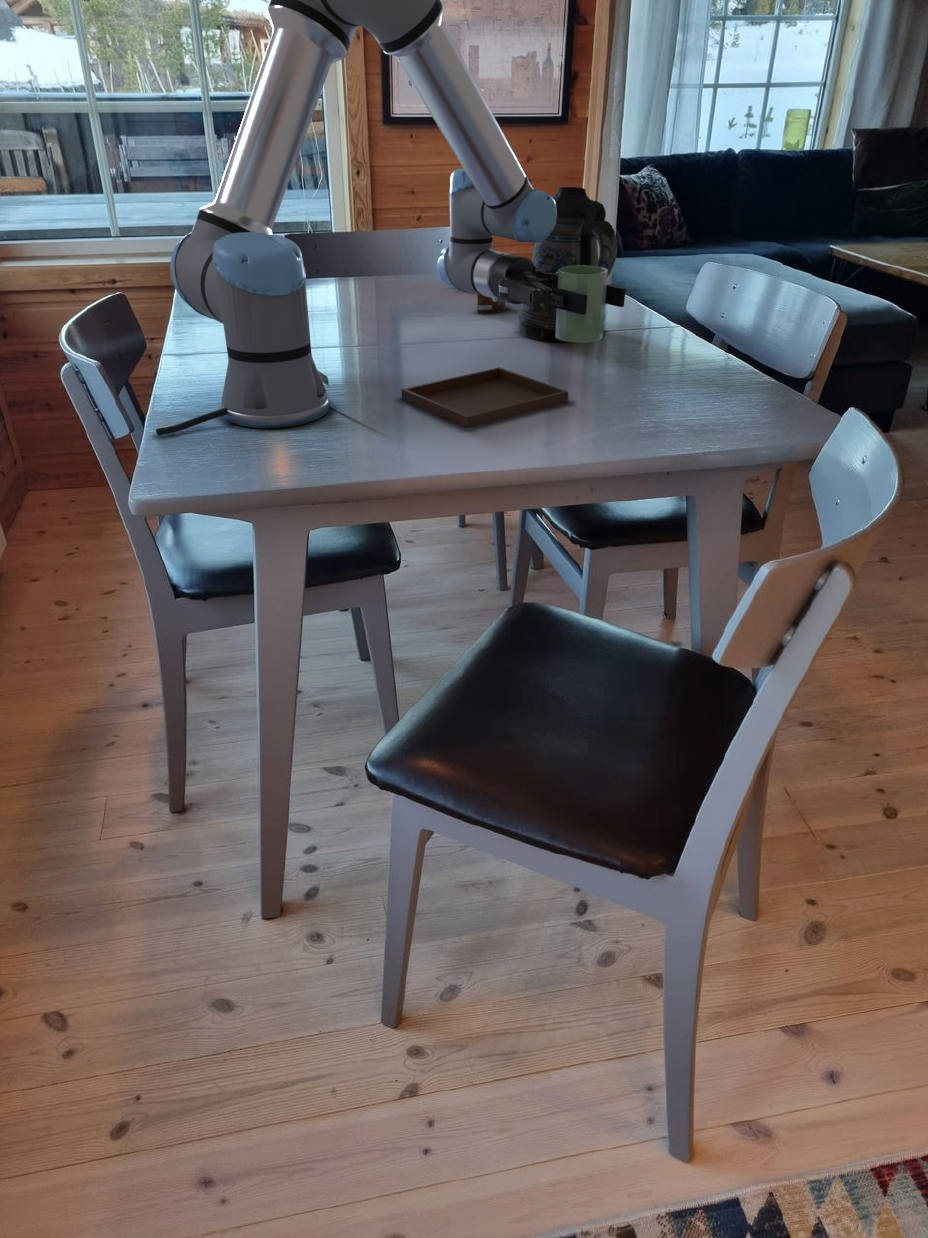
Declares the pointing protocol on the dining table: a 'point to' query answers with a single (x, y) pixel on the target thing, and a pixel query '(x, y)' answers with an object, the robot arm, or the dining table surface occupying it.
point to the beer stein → (569, 252)
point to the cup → (594, 287)
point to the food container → (489, 305)
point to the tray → (484, 396)
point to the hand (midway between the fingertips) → (604, 301)
